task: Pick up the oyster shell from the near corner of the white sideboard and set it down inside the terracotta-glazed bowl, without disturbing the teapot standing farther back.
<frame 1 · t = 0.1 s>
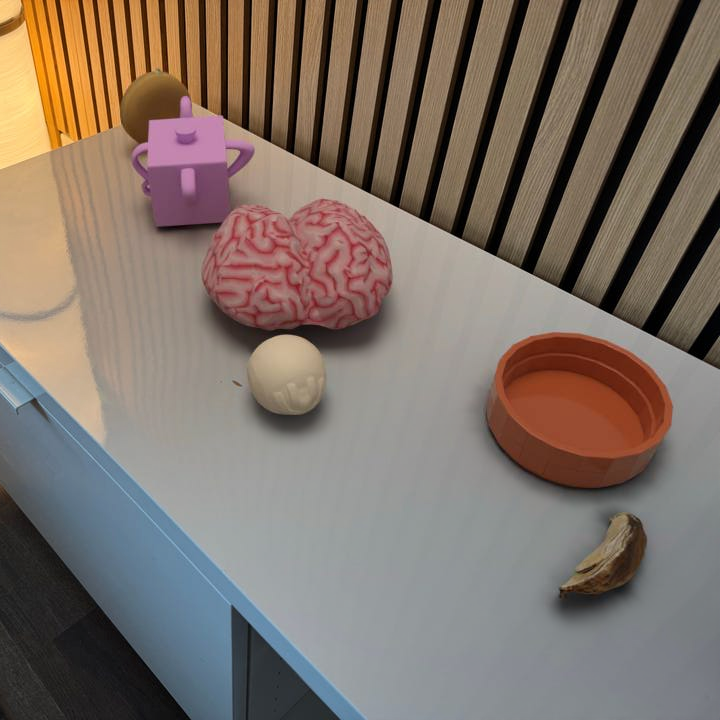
cream ball: (287, 403, 68), on the table
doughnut: (161, 145, 100), on the table
teapot: (197, 202, 90), on the table
bowl: (566, 425, 65), on the table
brain: (294, 294, 78), on the table
oyster shell: (595, 569, 56), on the table
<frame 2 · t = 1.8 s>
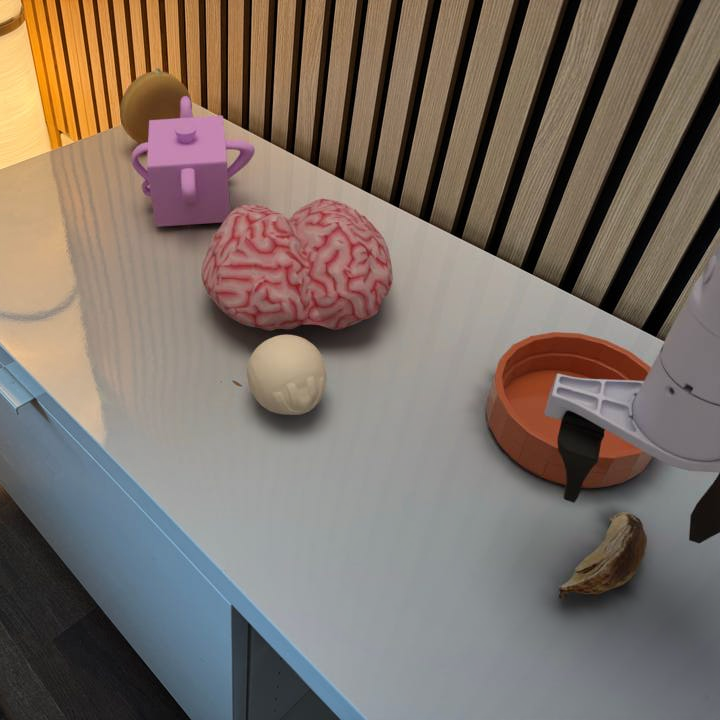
hand: (631, 509, 50), 8 cm above the table, tool pointing down, fingers open, 7 cm apart
nothing on the table moved.
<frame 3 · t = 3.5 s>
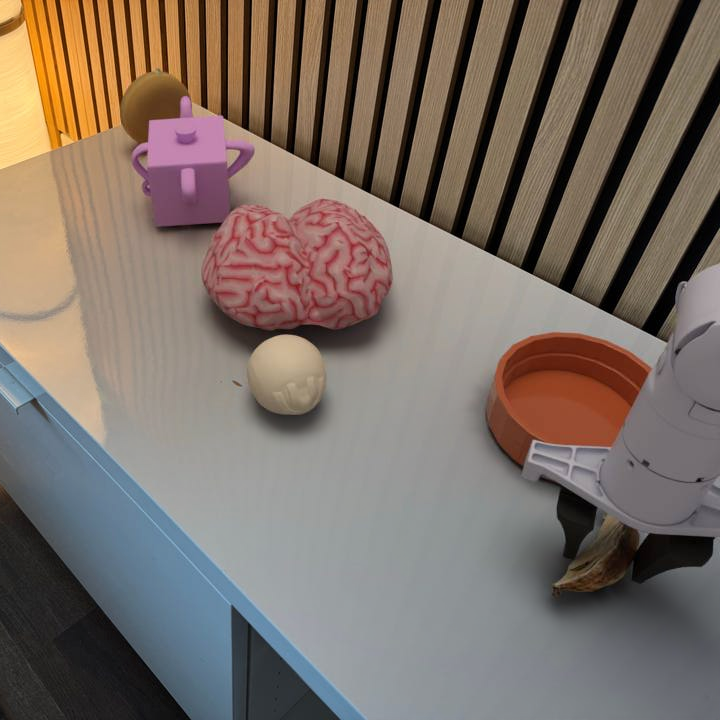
hand: (603, 559, 54), 1 cm above the table, tool pointing down, fingers closed on oyster shell, 4 cm apart
oyster shell: (588, 567, 56), on the table, touching gripper
everything else where it was.
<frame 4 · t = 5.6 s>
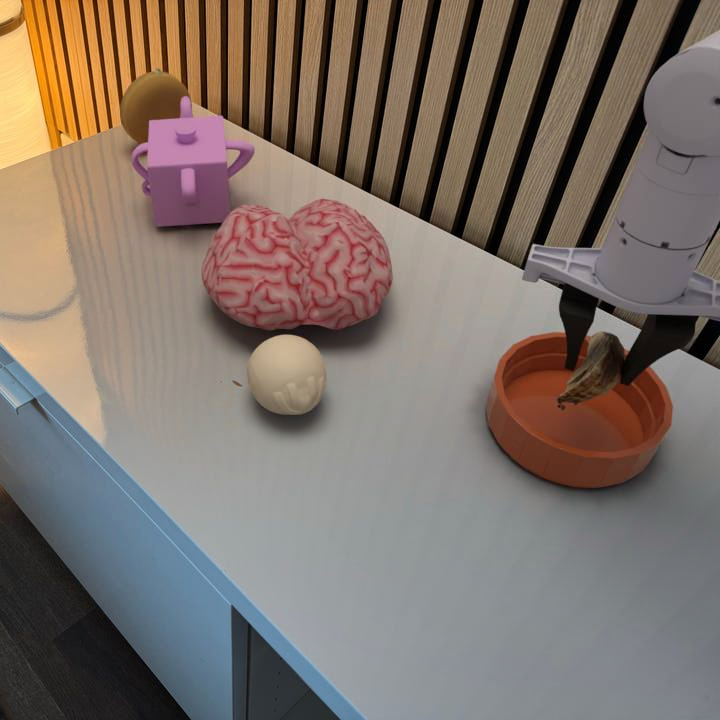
hand: (598, 368, 58), 8 cm above the table, tool pointing down, fingers closed on oyster shell, 3 cm apart
oyster shell: (583, 385, 59), point 7 cm above the table, touching gripper
everything else where it was.
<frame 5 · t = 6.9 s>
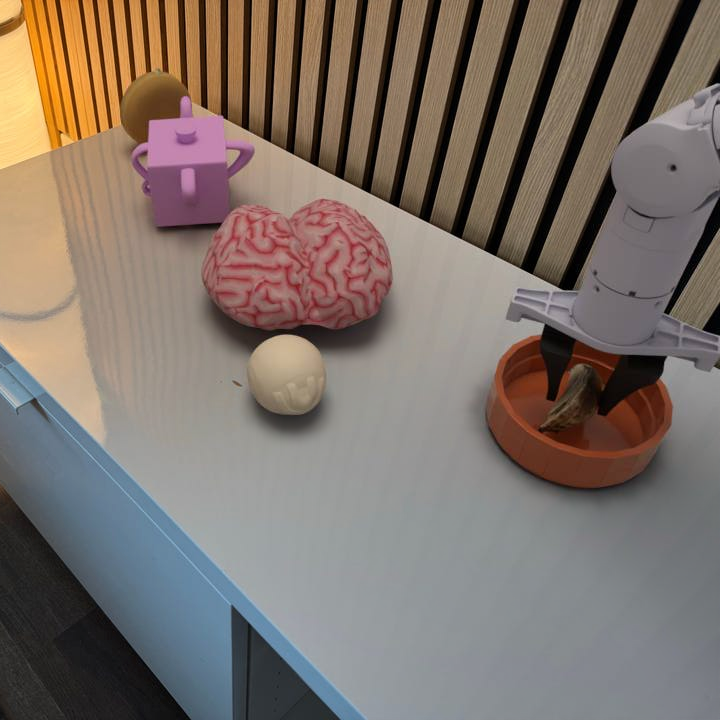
hand: (577, 399, 62), 3 cm above the table, tool pointing down, fingers closed on oyster shell, 3 cm apart
oyster shell: (564, 414, 64), point 2 cm above the table, touching gripper
everything else where it was.
when the fingers open (2 cm above the table, at t = 7.6 s): oyster shell stays where it is, resting on bowl.
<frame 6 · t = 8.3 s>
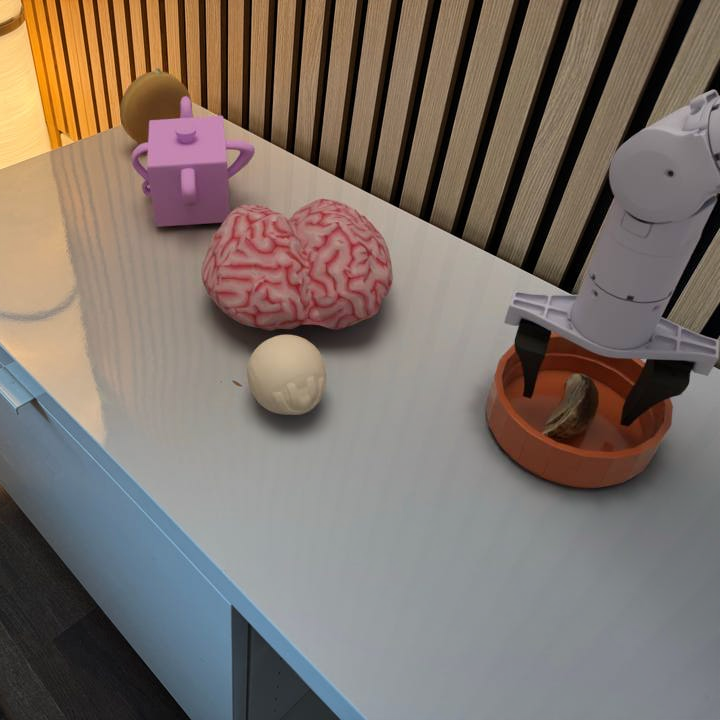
hand: (576, 403, 63), 3 cm above the table, tool pointing down, fingers open, 7 cm apart
oyster shell: (560, 423, 64), resting on bowl
everything else where it was.
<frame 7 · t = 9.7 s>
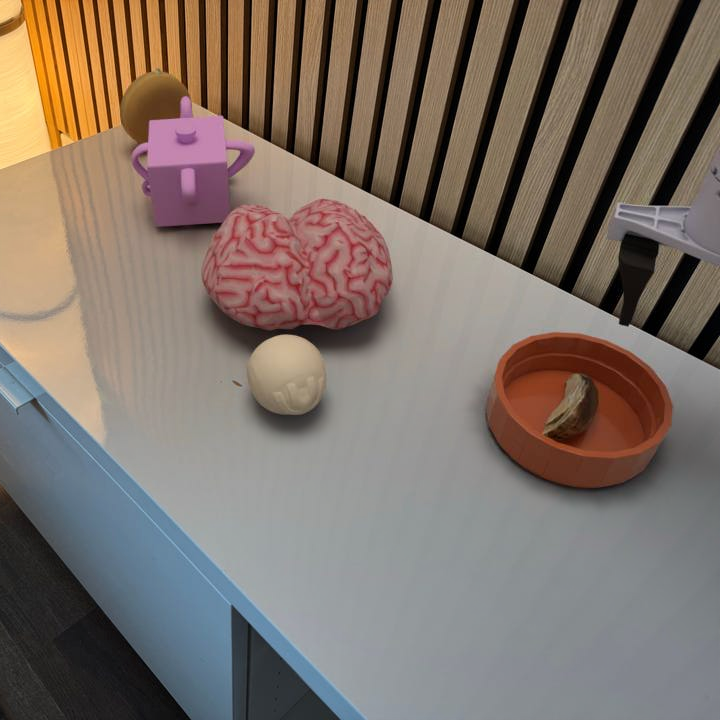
hand: (678, 330, 58), 10 cm above the table, tool pointing down, fingers open, 7 cm apart
nothing on the table moved.
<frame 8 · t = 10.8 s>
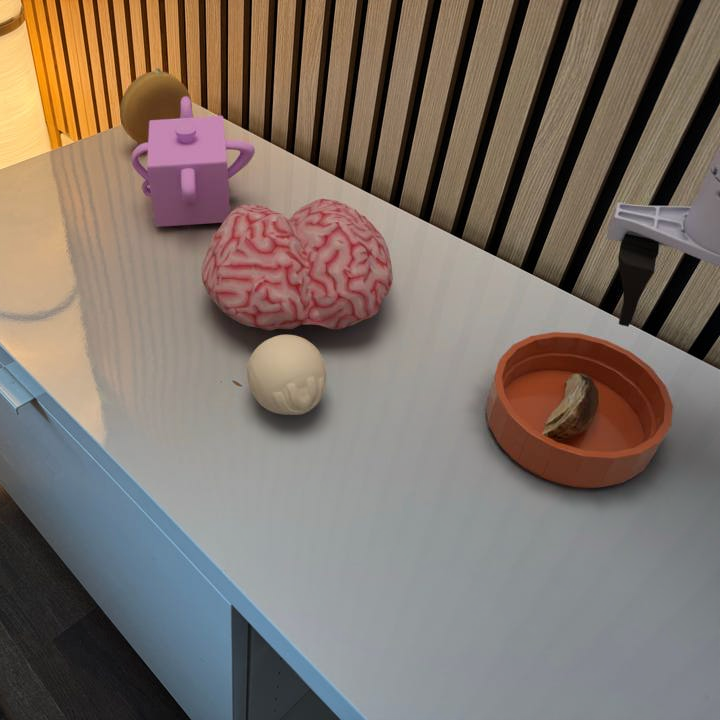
hand: (678, 330, 58), 10 cm above the table, tool pointing down, fingers open, 7 cm apart
nothing on the table moved.
at the end: oyster shell inside the target area in the bowl (0.8 cm from its centre), point 0.4 cm above the bowl's base; the gripper is holding nothing; teapot moved 0.2 cm from its start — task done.
